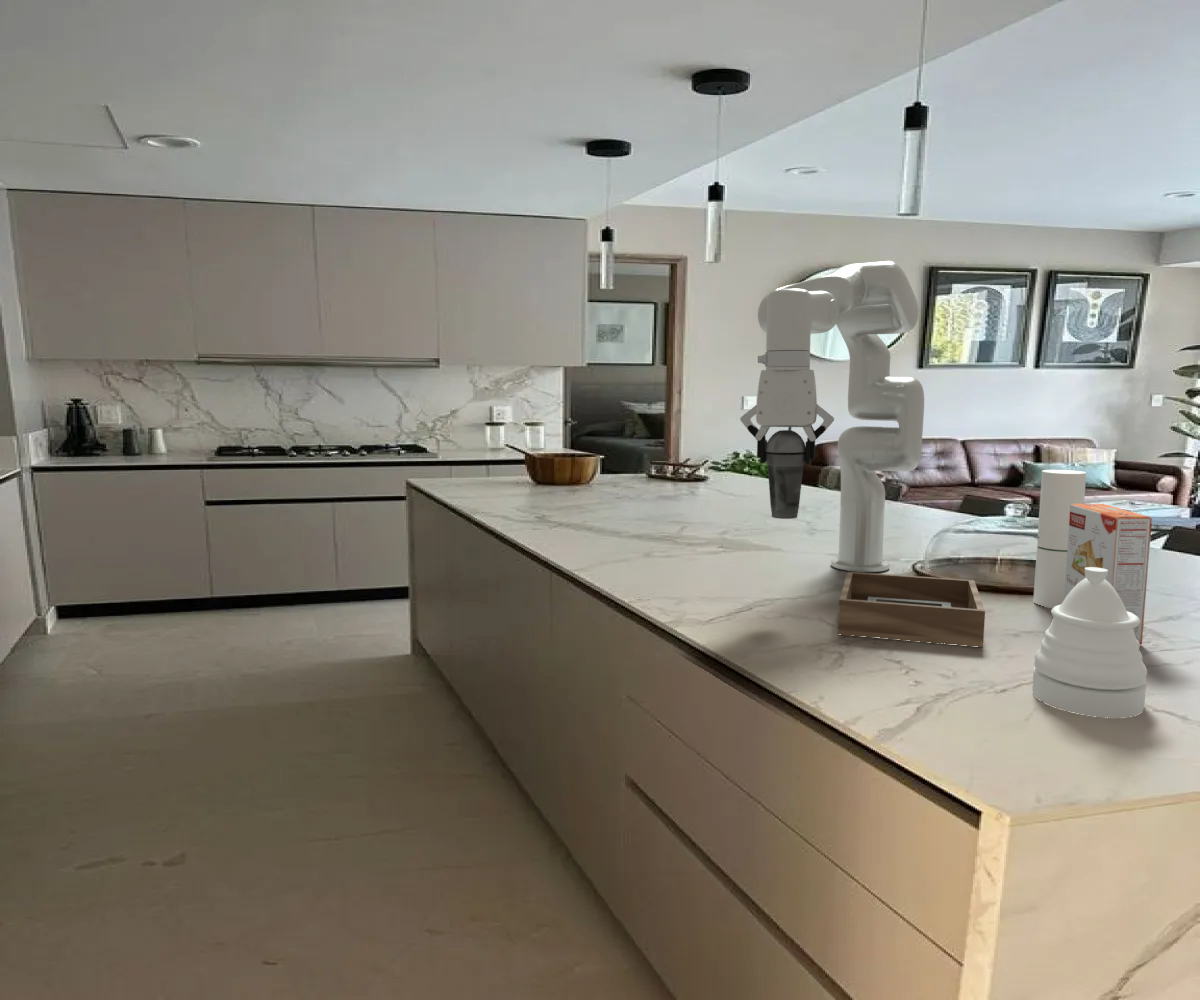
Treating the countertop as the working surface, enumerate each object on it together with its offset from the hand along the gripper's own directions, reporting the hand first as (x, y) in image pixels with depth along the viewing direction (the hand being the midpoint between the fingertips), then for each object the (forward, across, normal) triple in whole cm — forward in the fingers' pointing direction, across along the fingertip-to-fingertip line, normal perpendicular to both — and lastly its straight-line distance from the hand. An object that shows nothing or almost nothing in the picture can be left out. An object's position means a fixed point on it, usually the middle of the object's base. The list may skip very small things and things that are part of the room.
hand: (785, 462), depth 151 cm
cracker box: (+28, +52, +4) cm, 59 cm away
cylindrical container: (+28, +48, +22) cm, 59 cm away
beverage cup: (+10, 0, 0) cm, 10 cm away
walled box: (+28, +22, 0) cm, 35 cm away
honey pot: (+28, +44, -30) cm, 60 cm away
